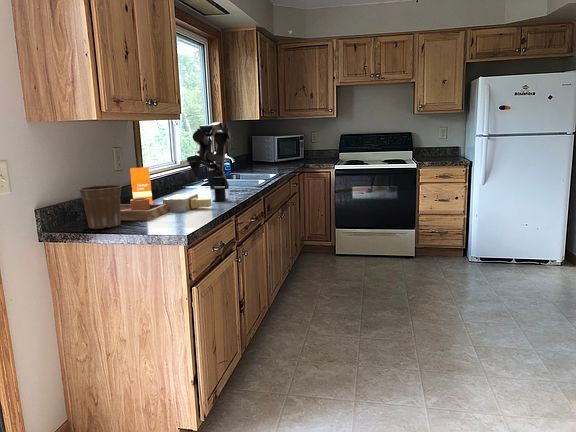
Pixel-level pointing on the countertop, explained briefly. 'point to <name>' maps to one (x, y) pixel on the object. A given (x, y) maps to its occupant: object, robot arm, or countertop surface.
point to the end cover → (200, 202)
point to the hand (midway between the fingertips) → (203, 181)
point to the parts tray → (143, 212)
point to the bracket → (139, 204)
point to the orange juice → (141, 183)
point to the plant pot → (102, 205)
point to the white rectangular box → (179, 202)
